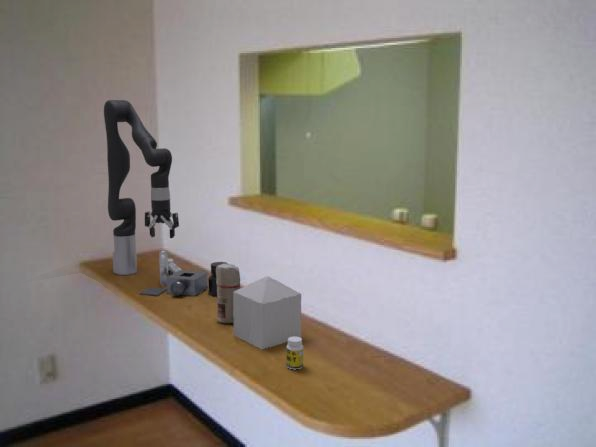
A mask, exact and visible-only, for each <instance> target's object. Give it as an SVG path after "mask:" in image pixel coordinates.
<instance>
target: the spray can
mask: <svg viewBox="0 0 596 447" xmlns="http://www.w3.org/2000/svg"><path fill="white" fill-rule="evenodd" d="M240 273H241V272H240V269H239V267H238V266H236V265H235V264H231V263H230V264H229V263H228V264H221V265H218V266H217V267H216V276H217V281H216V284H217V296H216V298H217V299H216V302H217V319H216V321H217V322H218V323H222V324H234V317H233V307H234V306H233V292H234V291H236V290H238V289H240V288H241V275H240Z"/></svg>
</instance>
